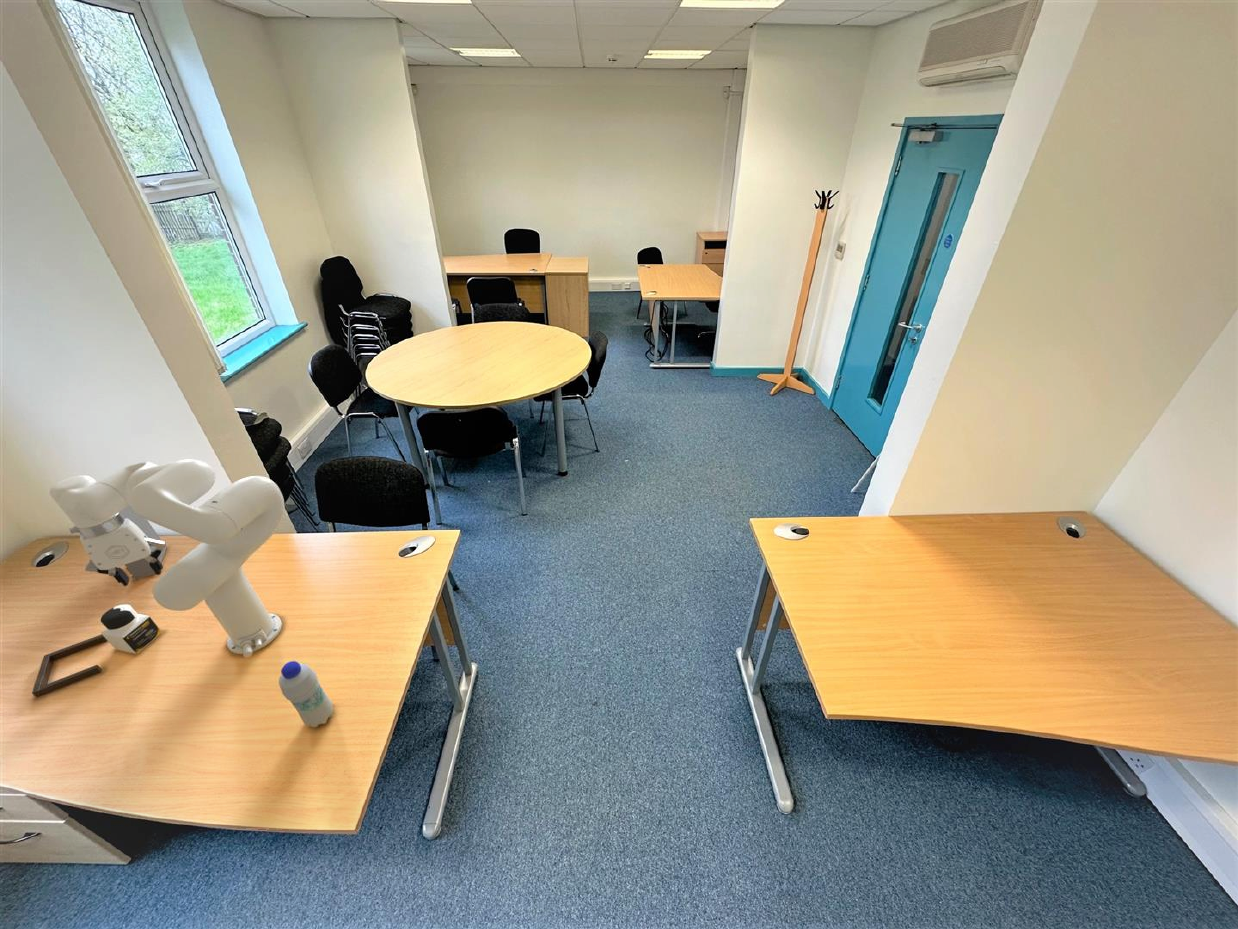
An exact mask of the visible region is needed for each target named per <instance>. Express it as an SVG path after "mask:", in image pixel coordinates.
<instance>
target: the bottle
mask: <svg viewBox="0 0 1238 929" xmlns="http://www.w3.org/2000/svg"><path fill="white" fill-rule="evenodd" d="M280 672H281V675H280V676H279V679H278V685H279V688H280V690H281V694H282V695H283V697H284V698H285V699H286V700H288V701H290V703H291V704H292V706H293V707H294V708H295V710H296V712H297V713H298V715H299V717H300V719H301V721H302V723H304V725H306V726H309V727H311V728H318V727H319V725H325V724H327V722H328V719H329V718H331V717H333V714H334V708H333V707H334V704H333V702H332V700H331V699H330V698H329V696H328V695H327V694H326V693H325V691H324V689H323V687H322V686H321V684H320V683H319V678H318V675H317V673H316V672H315V671H314V670H313V669H312V668H311V667H310V666H309V665H308V664H306V663H299V661H296V660H291V661H288V662H286V663H285V664H283V666H282V668H281V670H280Z"/></svg>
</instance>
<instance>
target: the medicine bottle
mask: <svg viewBox="0 0 1238 929" xmlns="http://www.w3.org/2000/svg"><path fill="white" fill-rule="evenodd" d="M100 617H101V618H100V622H101V624H102V625H103V626H104V627H105V629H104V630H103V631H101V634H102V635H103V636H104V637H105V638H106V639H107V640H108V641H107V642H108V643H109V644H110V645H111V646H112V647H113V648H114V649H115V650H117V651H120V652H126V653H130V654H134V655H137V654H139V653H140V652H142V651H143V650H144V649H145V648H146V647H147V646H149V645H150V644H151V643H152V642H154V640H155V639H157V638H158V637H159V636H160V635H161V634H163V631H162V630H161V628H160V627H159V626H158V625H157V624H156V622H155V621H154V620H153V619H152V618H151V616H150V615H146V614H141V613H137V612H136V611H135V609H134V608H133V607H132V606H131V605H130V604H119V605H116V606H113V607H112V608H110V609H108V610H107V611H105V612H104V613H103V614H102V615H101V616H100ZM101 634H100V635H101Z"/></svg>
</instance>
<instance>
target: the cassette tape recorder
mask: <svg viewBox="0 0 1238 929" xmlns="http://www.w3.org/2000/svg"><path fill="white" fill-rule="evenodd" d="M119 512H120V514H121V515H122V516H123V518H124V519H125V518H127V519H129V520H130V521H132V522H133V523H134V524H135V525H136V526H138V527H139V528H140V529H141V530H142V531H143V533H144V534H145V535H146V536H147V537H148V538H150V539H154V540H159V541H163V540H162V538H161V537H160V536H159V534H158V533H157V532H156V530H155V528H153V526H152V524H151V523H150V521H149V520H147V519H145V518H143V517H141V516H140V515H138V514H137V513H136V512H135V511H134V510H133V509H132V508H131V506H130V505H129V506H127V507H125V508H124V509H123V510H121V511H119ZM150 548H151V551H154V550H155V549H156V548H157V547H155V546H151V547H150ZM166 550H167V545H166V546H165V548H164V549H163V550H162V552H161V554H160V555H159V557H158V560H159V561H160V562H161V563H162V561H163V559H164V556H165V553H166ZM149 563H150V562H149V561H147V560H146V559H144V558H143V559H140V560H137V561H134V562H131V563H128V564H125V565H124V566H125V569H126V570H127V571H128V573H129V574H130V575H132V576H131V579H132V581H135V580H139V579H142V578H146V577H149V576H153V575H156V573H155V572H154V571H153V569H152V568H151V567H150V565H149Z"/></svg>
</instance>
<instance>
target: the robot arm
mask: <svg viewBox="0 0 1238 929" xmlns="http://www.w3.org/2000/svg"><path fill="white" fill-rule="evenodd" d="M215 482H216V472H215V470H214V468H212V466H211V465H210V464H208V463H207V462H204V461H203V460H199V459H190V458H189V459H188V458H187V459H181V460H176V461H175V460H174V461H170V462H168V463H163V464H159V465H158V464H156V463H154V462H151V461H142V462H138V463H134V464H130V465H128V466H125V467H122V468H120V469H118V470H116V471H114V472H113V473H110V474H109V475H107V476H105V477H103V478H102V479H100V480H98V481H97V480H96V479H95V478H94V477H92V476H90V475H75V476H71V477H67V478H65V479H62V480H60V481H57V482H56V483H55V484H53V485H52V486H51V487H50V489H49V495H50V497H51V498H52V500H53V501H54V502H55V503H56V504H57V506H58V507H59V508H60V509H61V510H62V512H63V513H64V514H65V515H66V517H67V518H68V519H69V520H70V521H71V523H72V524H73V525H74V526H73V527H69V529H68V530H69V532H70V534H75V533H79V534H80V536H79V540H80V543H81V545H82V547H83V549H84V550H85V552H86V554H87V556H88V557H89V561H88V563H87V564H86V565H85V572H91V573H98V574H102V575H108V576H109V577H113V578H114V579H115V580H116V581H117V583H118V584H121V585H123V587H127V586H128V585H129V582H130V577H129V575H128V574H127V573H126V572H125V571H124V569H123V568H122V567H121V566H125V564H128V563H131V562H134V561H137V560H140V559H143V558H144V559H146V560H147V561H149V562H150V563H149V565H150V567H151V568H152V569H153V571H154V572H155V573H156V574H155V575H157V576H159V575H161V574H162V570H164V566H163V564H162V561H161V562H160V561H159V560H158V557H159V555H160V554H161V552H162V550H163V549H164V548H165V546H167V542H166V541H163V540H162V541H159V540H154V539H150V538H148V537H147V536H146V535H145V534H144V533H143V531H142V530H141V529H140V528H139V527H138V526H136V525H135V524H134V523H133V522H132V521H130V520H129V519H127V518H125V519H124V518H123V516H122V515H121V514H120V512H119V511H121V510H123V509H124V508H125V507H127V506H129V505H130V506H131V508H132V509H133V510H134V511H135V512H136V513H137V514H138V515H140V516H141V517H143V518H145V519H147V520H148V522H151V523H153V524H156V525H158V526H160V527H163V528H165V529H167V530H171V531H173V532H175V533H178V534H180V535H182V536H185V537H187V538H190V539H192V540H194V541H197V542H200V543H199V544H198V545H197V546H195V547H194V548H193V549H192V550H190V551H189V552H188V553H187V554H185V555H184V556H183V557H181V558H180V559H179V560H178V561H177V562H175V563H174V564H173V565H172V566H170V568H168V570H166V571H165V573H164V574H162V575H161V576H160V577H159V578H158V579H157V580H155V582H154V583H153V586H152V591H151V592H152V596H153V598H154V600H155V601H156V603H157V604H159V606H161V607H163V608H164V609H167V610H170V611H174V612H184V611H189V610H191V609H193V608H195V607H197V606H198V605H200V604H201V603H202V602H203V601H204V602H205V604H206V606H207V607H208V608H209V610H210V611H211V613H212V614H213V615H214V617H215V619H216V620H217V621H218V622H219V624H220V625H221V627H222V628H223V629H224V631H225V632H226V634H227V635H228V637H227V640H226V646H227V649H228V650H229V651H230V652H231V653H233V654H236V655H242V656H243V657H244V658H249V657H251V656H253V653H254V652H256V651H258V650H261V649H263V648H264V647H266V646H267V645H269V644H270V643H271V642H273V641H274V640H275V639H276V638H277V637H278V635H279V634H280V632H281V630H282V626H283V621H282V620H281V618H280V617H279V616H278V615H277V614H275V613H269V612H268V610H267V608H266V607H265V605H264V603H263V602H262V600H261V599H260V597H259V595H258V594H257V592H256V590H255V589H254V587H253V586H252V584H251V582H250V580H249V578H248V577H247V575H246V573H245V571H244V569H243V565H244V564H245V562H247V560H248V559H249V558H250V557H251V556H252V555H253V554H255V552H257V551H258V550H259V549H260V548H261V547H262V546H263V545H264V544H265V543H267V542H268V540H269V539H270V538H272V536H273V535H274V533H275V532H276V531H277V529H278V528H279V526H280V524H281V523H282V520H283V518H284V514H285V508H286V506H285V499H284V496H283V493H282V491H281V488H280V487H279V486H278V484H277V483H276V482H274V481H273V480H272V479H270V478H269V477H266V476H262V475H252V476H247V477H243V478H241V479H238V480H236V481H234V482H232V483H231V484H229V485H227V486H226V487H225V488H223V489H222V490H220V491H219V492H217V493H216V494H215V495H214V496H212V497H210V498H209V499H208V500H207V501H205V502H204V503H202V504H201V505H200V506H198V507H195V506H192V504H193V503H195V502H197V500H199V499H200V498H201V497H203V496H205V495H206V494H207V493H208V492H209V491H210V490H211V489H212V488H213V486H214V484H215ZM151 546H155V547H157V548H156V549H155V550H154V551H151V548H150V547H151Z"/></svg>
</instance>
